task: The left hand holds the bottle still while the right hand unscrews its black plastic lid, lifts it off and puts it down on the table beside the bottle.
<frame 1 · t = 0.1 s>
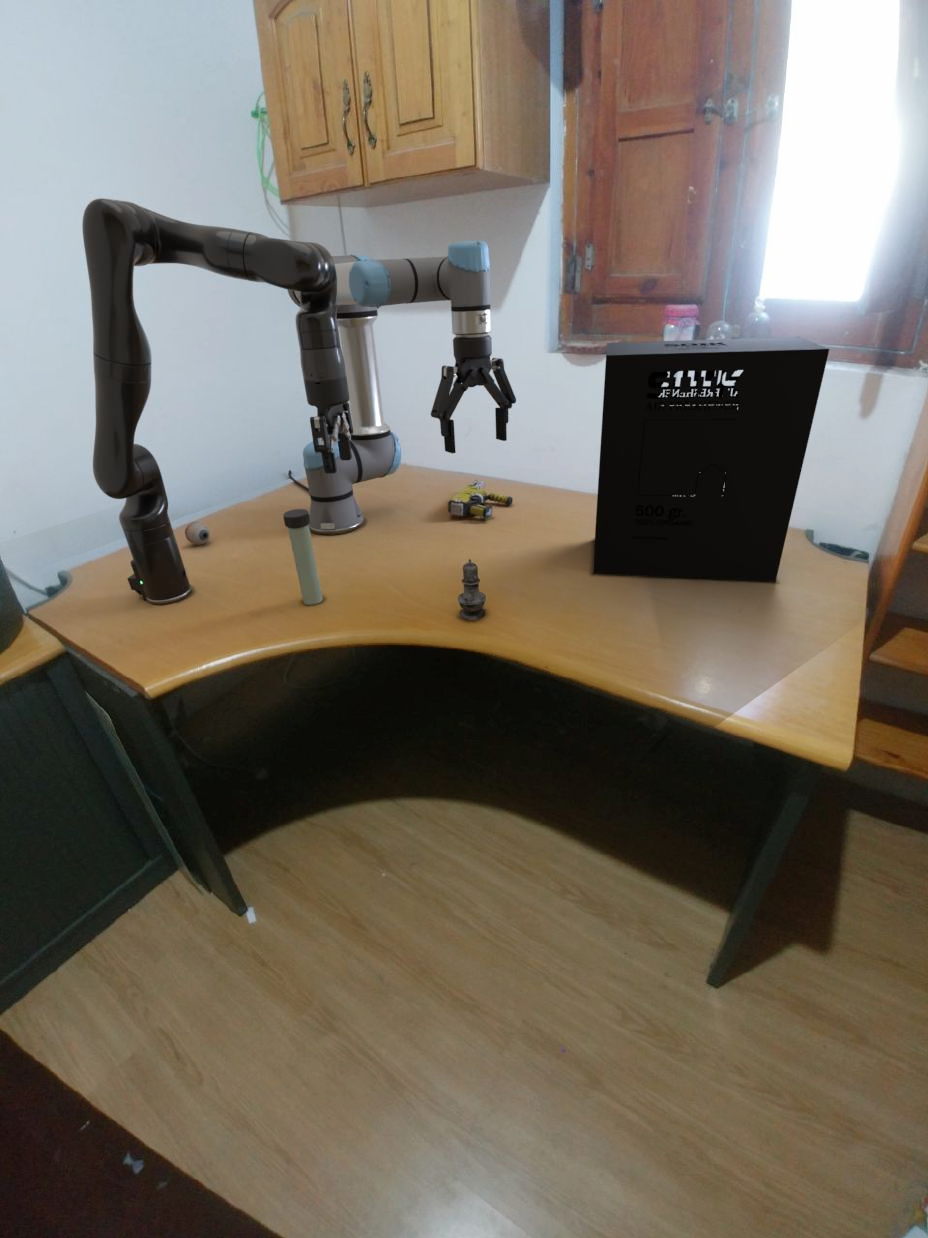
left hand: (338, 466, 114), 29 cm above the table, tool pointing down, fingers open, 8 cm apart
right hand: (476, 445, 127), 28 cm above the table, tool pointing down, fingers open, 13 cm apart
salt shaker: (472, 614, 122), on the table
eyeball: (201, 544, 162), on the table
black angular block: (677, 559, 139), on the table
lid: (295, 514, 121), point 20 cm above the table, screwed on, not yet turned
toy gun: (485, 507, 176), on the table
bottle: (313, 600, 131), on the table
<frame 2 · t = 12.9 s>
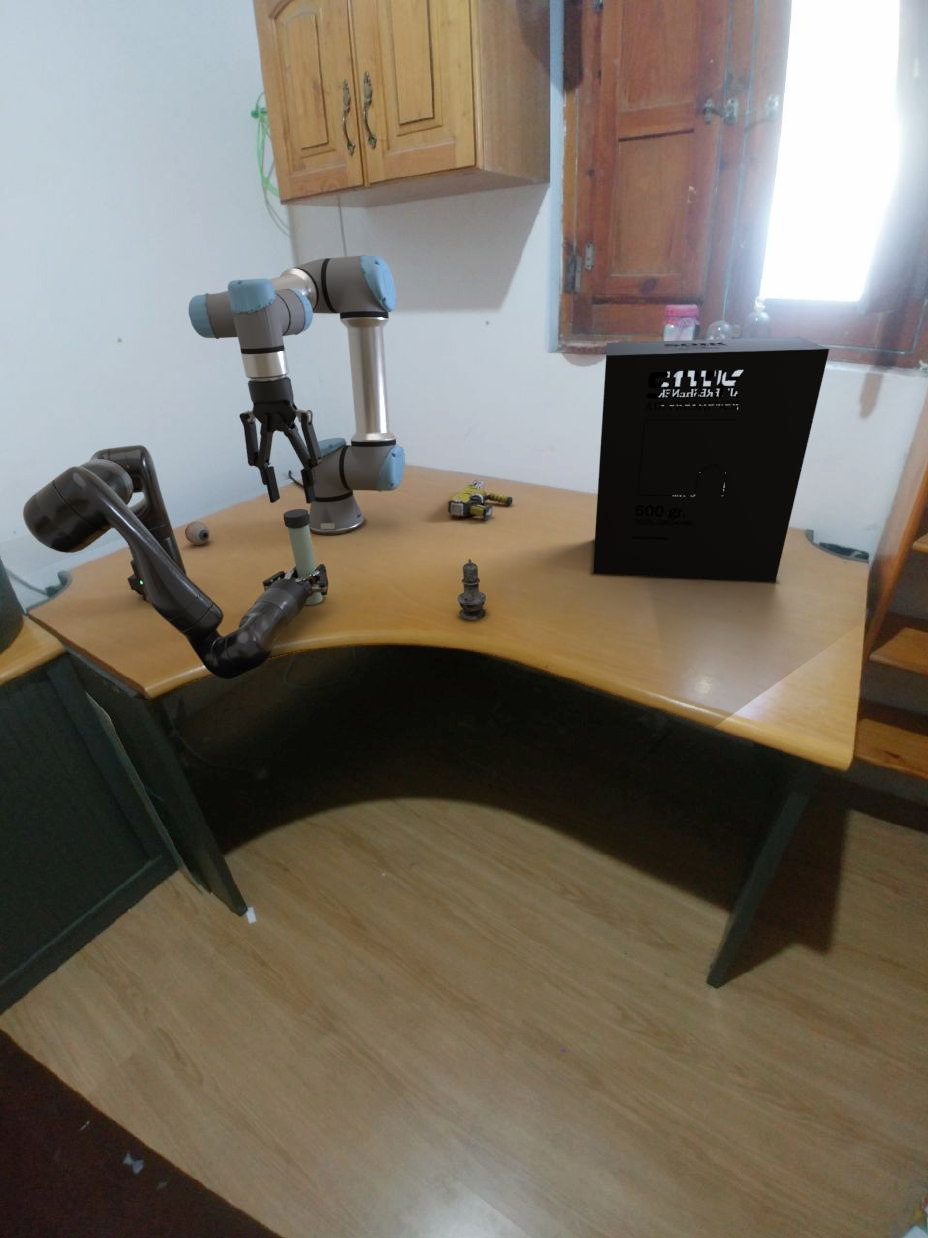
left hand: (312, 567, 130), 7 cm above the table, tool horizontal, fingers closed on bottle, 4 cm apart
right hand: (293, 500, 119), 22 cm above the table, tool pointing down, fingers open, 7 cm apart
bottle: (313, 600, 131), on the table, touching left hand
everything else where it was.
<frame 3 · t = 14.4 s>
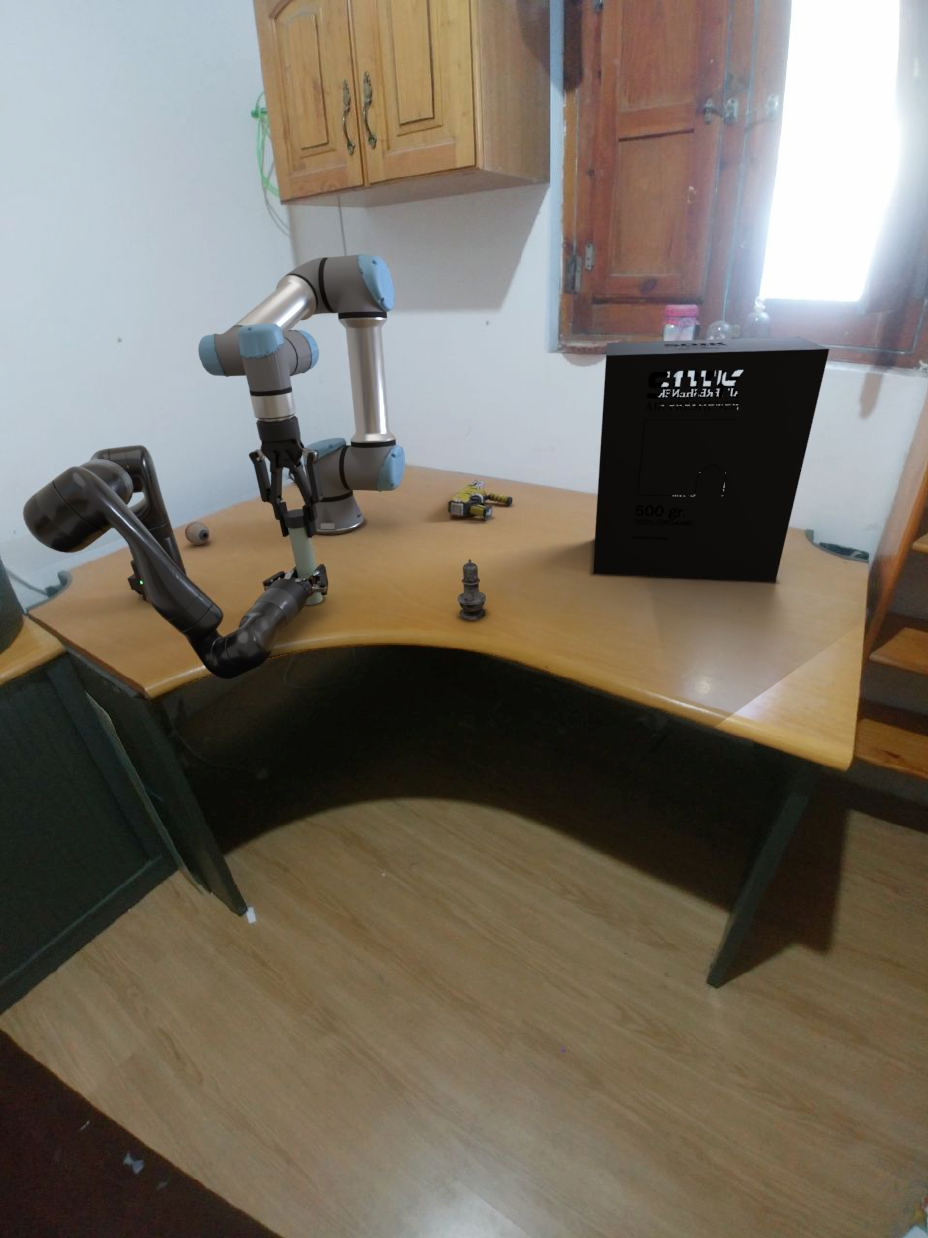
left hand: (312, 567, 130), 7 cm above the table, tool horizontal, fingers closed on bottle, 4 cm apart
right hand: (299, 534, 123), 15 cm above the table, tool pointing down, fingers closed on lid, 5 cm apart
lid: (295, 514, 121), point 20 cm above the table, screwed on, not yet turned, touching right hand
bottle: (313, 600, 131), on the table, touching left hand
everything else where it was.
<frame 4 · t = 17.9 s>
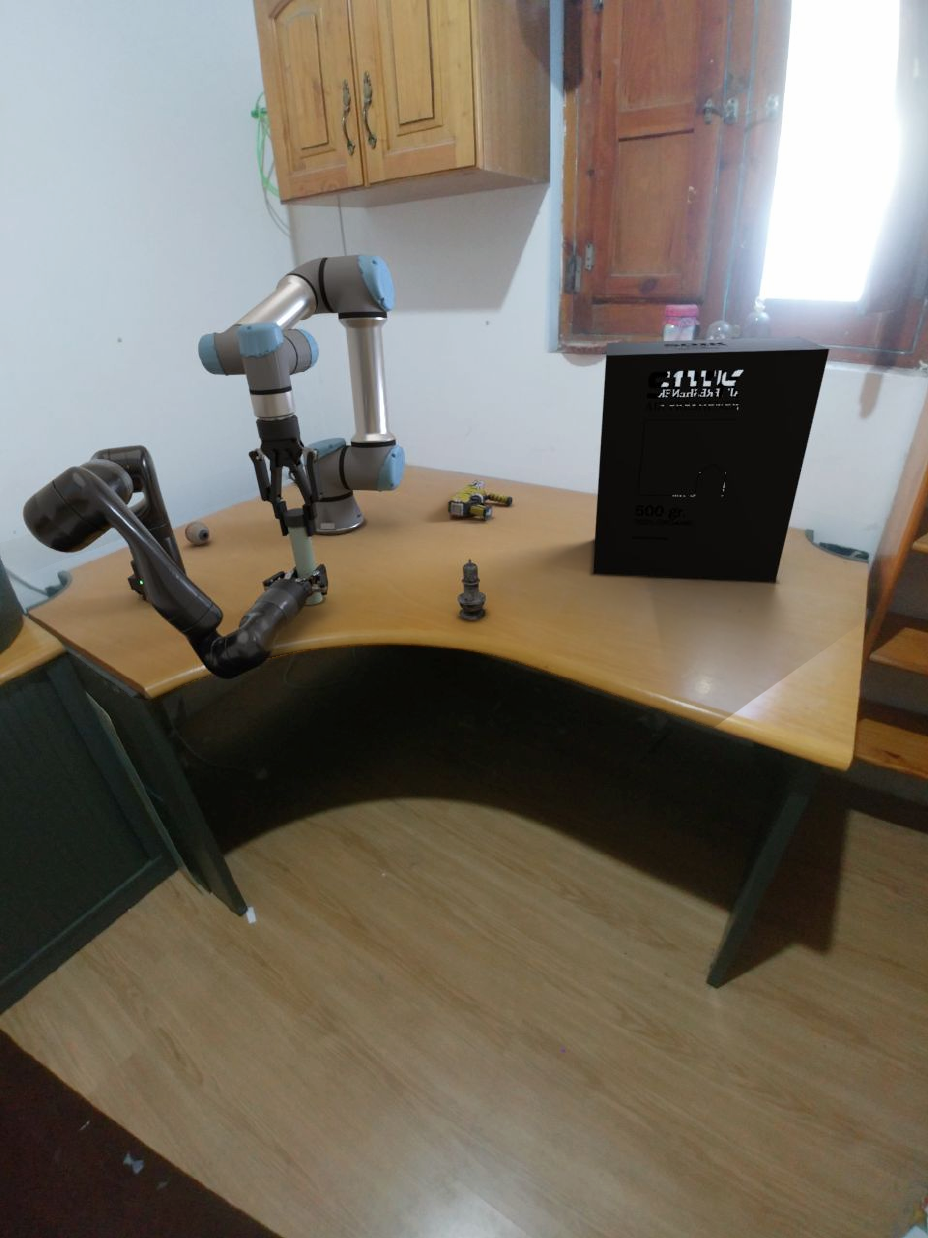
left hand: (312, 567, 130), 7 cm above the table, tool horizontal, fingers closed on bottle, 4 cm apart
right hand: (299, 533, 123), 15 cm above the table, tool pointing down, fingers closed on lid, 5 cm apart
lid: (295, 513, 121), point 20 cm above the table, turned 124° so far, risen 0.2 cm, still on its thread, touching right hand
bottle: (313, 600, 131), on the table, touching left hand
everything else where it was.
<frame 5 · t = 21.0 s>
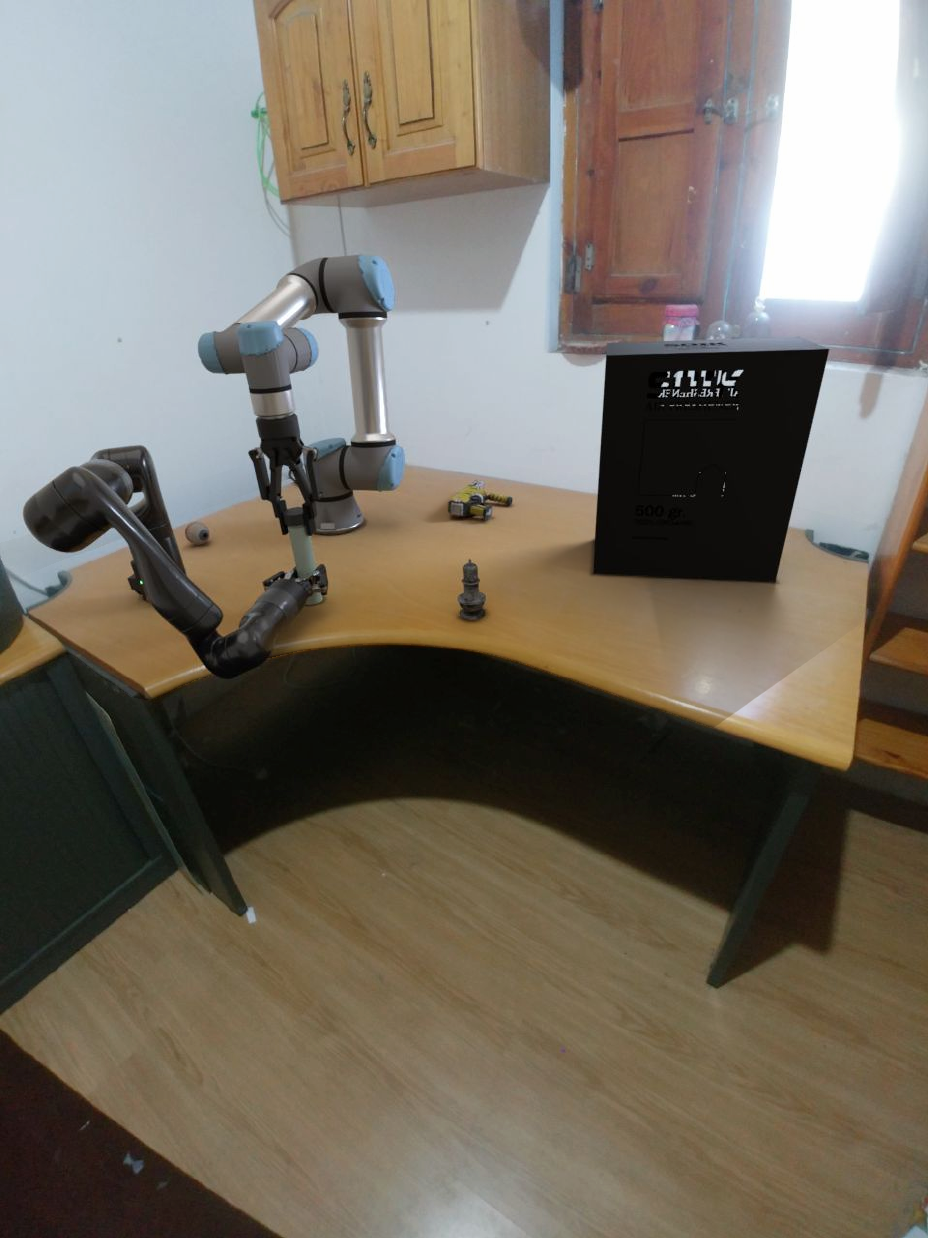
left hand: (312, 567, 130), 7 cm above the table, tool horizontal, fingers closed on bottle, 4 cm apart
right hand: (299, 532, 123), 16 cm above the table, tool pointing down, fingers closed on lid, 5 cm apart
lid: (295, 512, 121), point 20 cm above the table, turned 249° so far, risen 0.4 cm, still on its thread, touching right hand
bottle: (313, 600, 131), on the table, touching left hand
everything else where it was.
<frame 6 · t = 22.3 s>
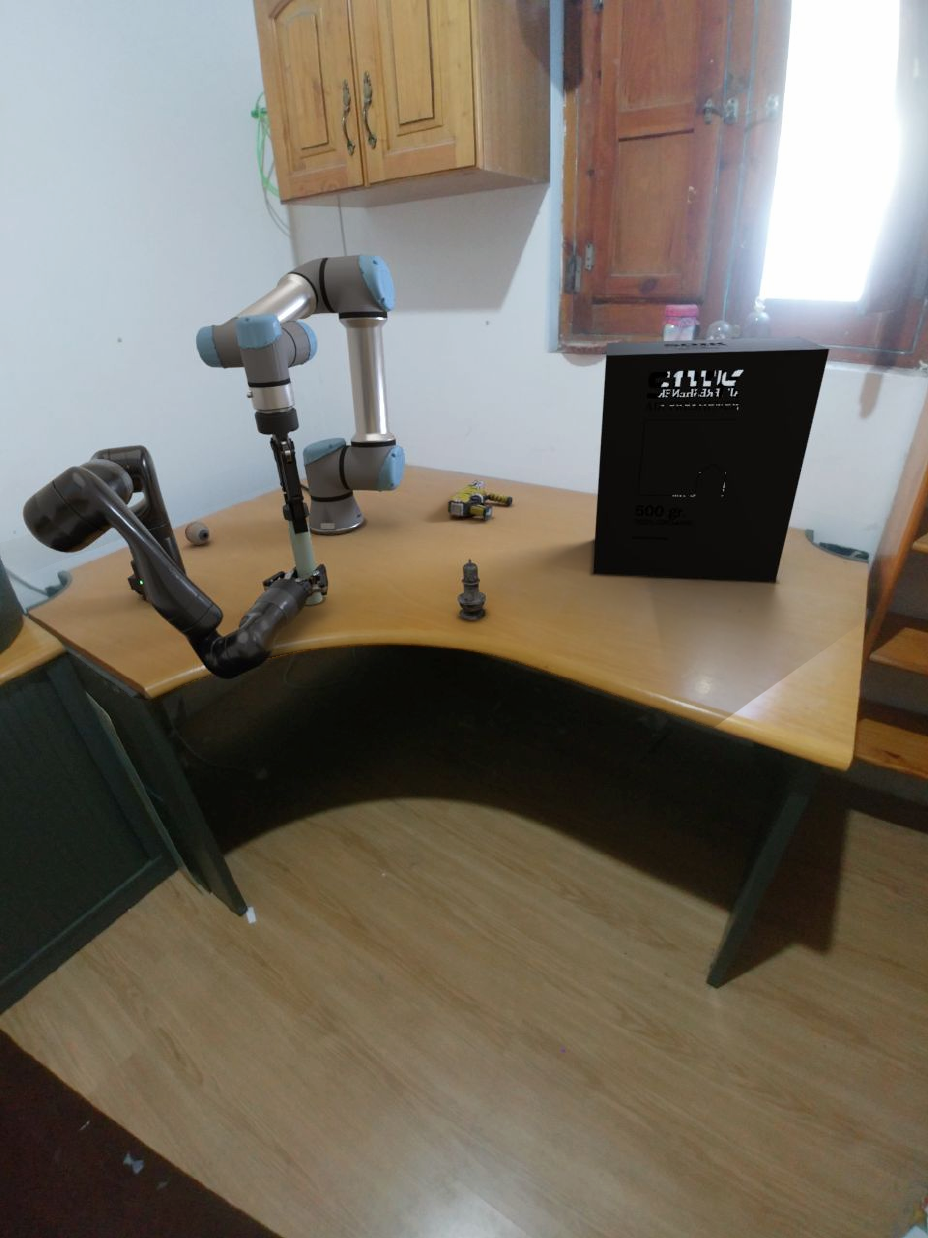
left hand: (312, 567, 130), 7 cm above the table, tool horizontal, fingers closed on bottle, 4 cm apart
right hand: (299, 527, 122), 17 cm above the table, tool pointing down, fingers closed on lid, 5 cm apart
lid: (295, 507, 120), point 21 cm above the table, off its thread, touching right hand
bottle: (313, 600, 131), on the table, touching left hand
everything else where it was.
when the right hand's fingers open (0 cm above the table, at t = 29.0 s): lid drops 2 cm, point 2 cm above the table.
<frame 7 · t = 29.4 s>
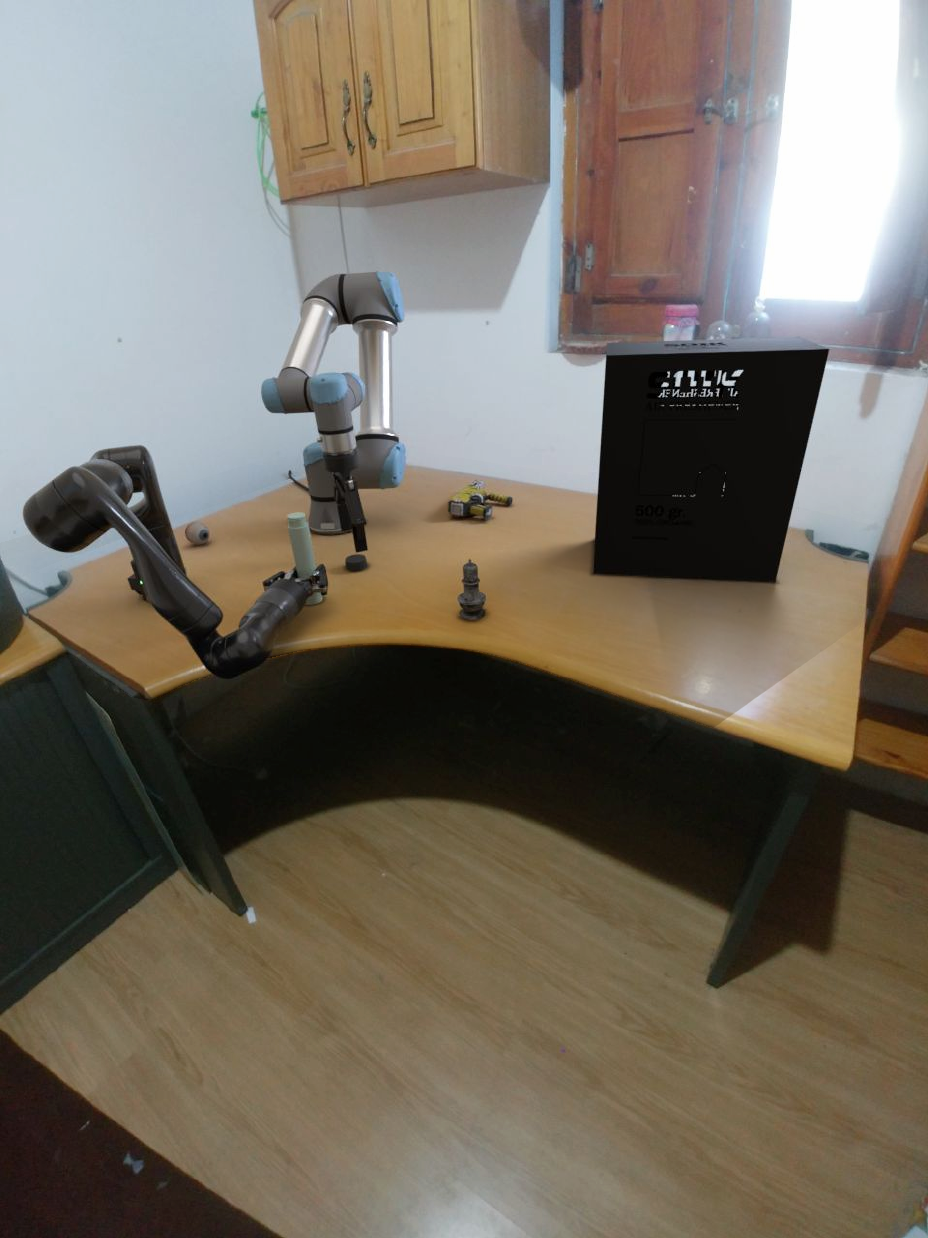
left hand: (312, 567, 130), 7 cm above the table, tool horizontal, fingers closed on bottle, 4 cm apart
right hand: (354, 540, 142), 7 cm above the table, tool pointing down, fingers open, 13 cm apart
lid: (355, 559, 143), point 2 cm above the table, off its thread
bottle: (313, 600, 131), on the table, touching left hand
everything else where it was.
when the left hand's fingers open (7 cm above the table, at t = 29.6 s): bottle stays where it is, on the table.
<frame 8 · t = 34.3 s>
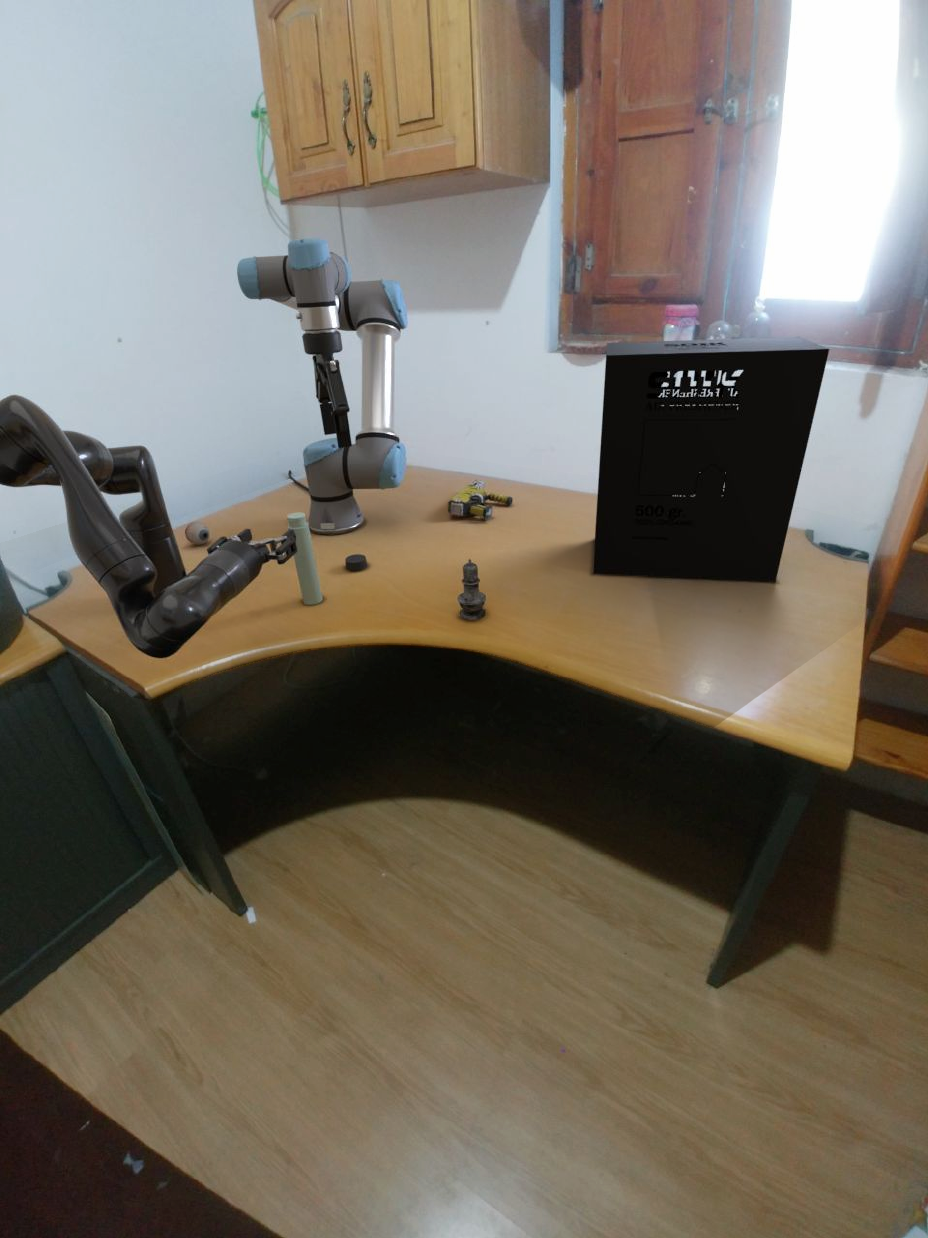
left hand: (270, 533, 111), 20 cm above the table, tool horizontal, fingers open, 8 cm apart
right hand: (337, 440, 130), 30 cm above the table, tool pointing down, fingers open, 13 cm apart
bottle: (313, 600, 131), on the table
everything else where it was.
at the end: lid came off its thread; lid point 1.9 cm above the table; the left hand is holding nothing; the right hand is holding nothing; bottle tilted 0°; bottle moved 0.1 cm from its start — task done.
